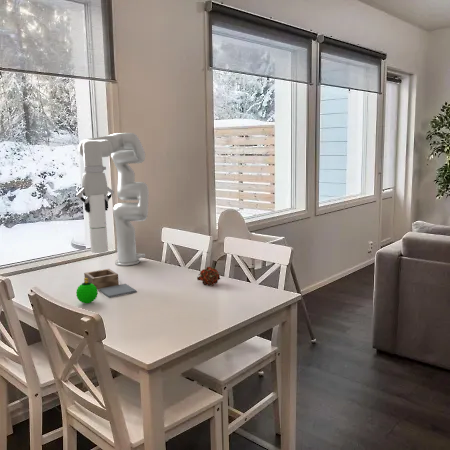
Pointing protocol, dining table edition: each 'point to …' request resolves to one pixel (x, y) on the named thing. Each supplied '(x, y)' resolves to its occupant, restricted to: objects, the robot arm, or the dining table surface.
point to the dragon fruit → (209, 276)
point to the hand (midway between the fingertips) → (96, 210)
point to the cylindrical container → (97, 224)
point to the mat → (117, 290)
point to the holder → (102, 278)
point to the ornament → (86, 292)
